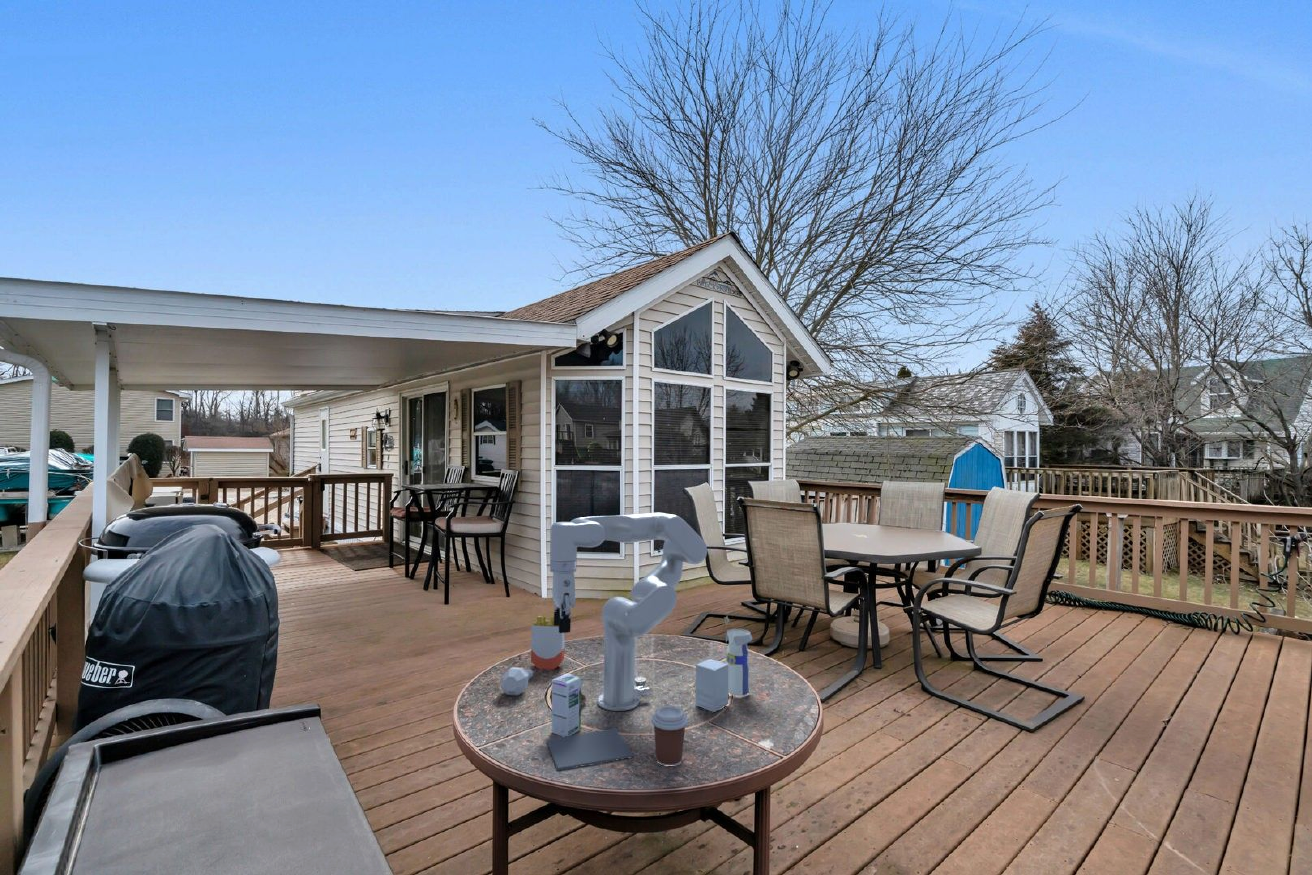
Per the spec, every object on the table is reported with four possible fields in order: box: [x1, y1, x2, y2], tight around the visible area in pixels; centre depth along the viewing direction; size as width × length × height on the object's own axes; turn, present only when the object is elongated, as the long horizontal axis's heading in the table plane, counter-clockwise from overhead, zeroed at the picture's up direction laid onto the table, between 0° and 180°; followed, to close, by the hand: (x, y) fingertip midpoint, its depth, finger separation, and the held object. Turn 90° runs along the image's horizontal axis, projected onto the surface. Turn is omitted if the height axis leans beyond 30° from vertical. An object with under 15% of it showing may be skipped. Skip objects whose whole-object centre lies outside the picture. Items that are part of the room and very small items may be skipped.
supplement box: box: [695, 658, 729, 711], centre depth 181 cm, size 7×7×13 cm
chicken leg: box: [500, 666, 534, 696], centre depth 191 cm, size 8×18×8 cm, turn 175°
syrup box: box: [551, 673, 582, 737], centre depth 163 cm, size 6×6×14 cm
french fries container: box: [530, 615, 565, 670], centre depth 210 cm, size 5×11×18 cm, turn 85°
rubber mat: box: [546, 728, 634, 771], centre depth 153 cm, size 19×15×1 cm
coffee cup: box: [651, 705, 689, 765], centre depth 149 cm, size 9×9×12 cm
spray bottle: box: [723, 615, 753, 695], centre depth 191 cm, size 8×9×25 cm
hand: (561, 628), depth 171 cm, fingers open, 6 cm apart
